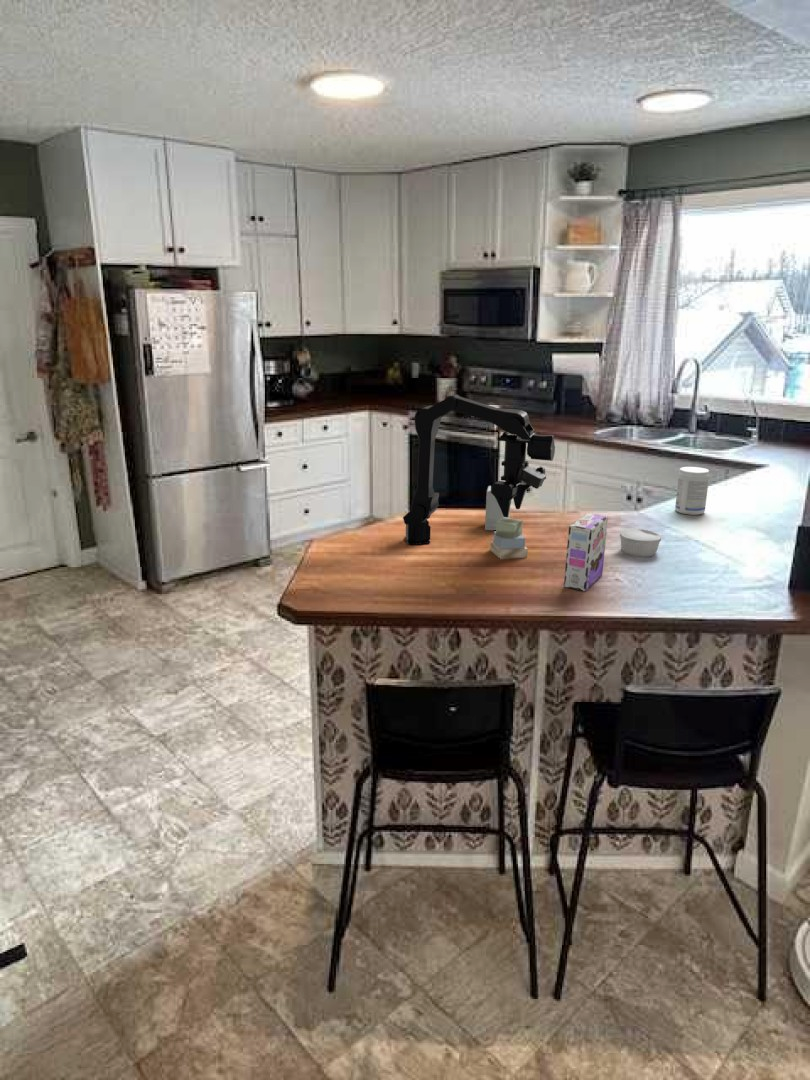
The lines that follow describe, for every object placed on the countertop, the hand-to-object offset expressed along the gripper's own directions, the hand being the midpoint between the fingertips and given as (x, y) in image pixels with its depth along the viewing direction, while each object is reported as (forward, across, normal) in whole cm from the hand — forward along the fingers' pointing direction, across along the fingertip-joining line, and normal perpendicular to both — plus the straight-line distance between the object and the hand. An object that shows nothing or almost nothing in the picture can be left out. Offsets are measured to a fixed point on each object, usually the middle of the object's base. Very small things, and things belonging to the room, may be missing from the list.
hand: (511, 512), depth 205 cm
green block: (+6, 0, 0) cm, 6 cm away
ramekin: (+12, +20, -31) cm, 39 cm away
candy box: (+12, -10, -24) cm, 29 cm away
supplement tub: (+12, +71, -37) cm, 81 cm away
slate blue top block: (+9, 0, 0) cm, 9 cm away
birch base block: (+12, 0, 0) cm, 13 cm away
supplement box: (+12, +21, +12) cm, 27 cm away
